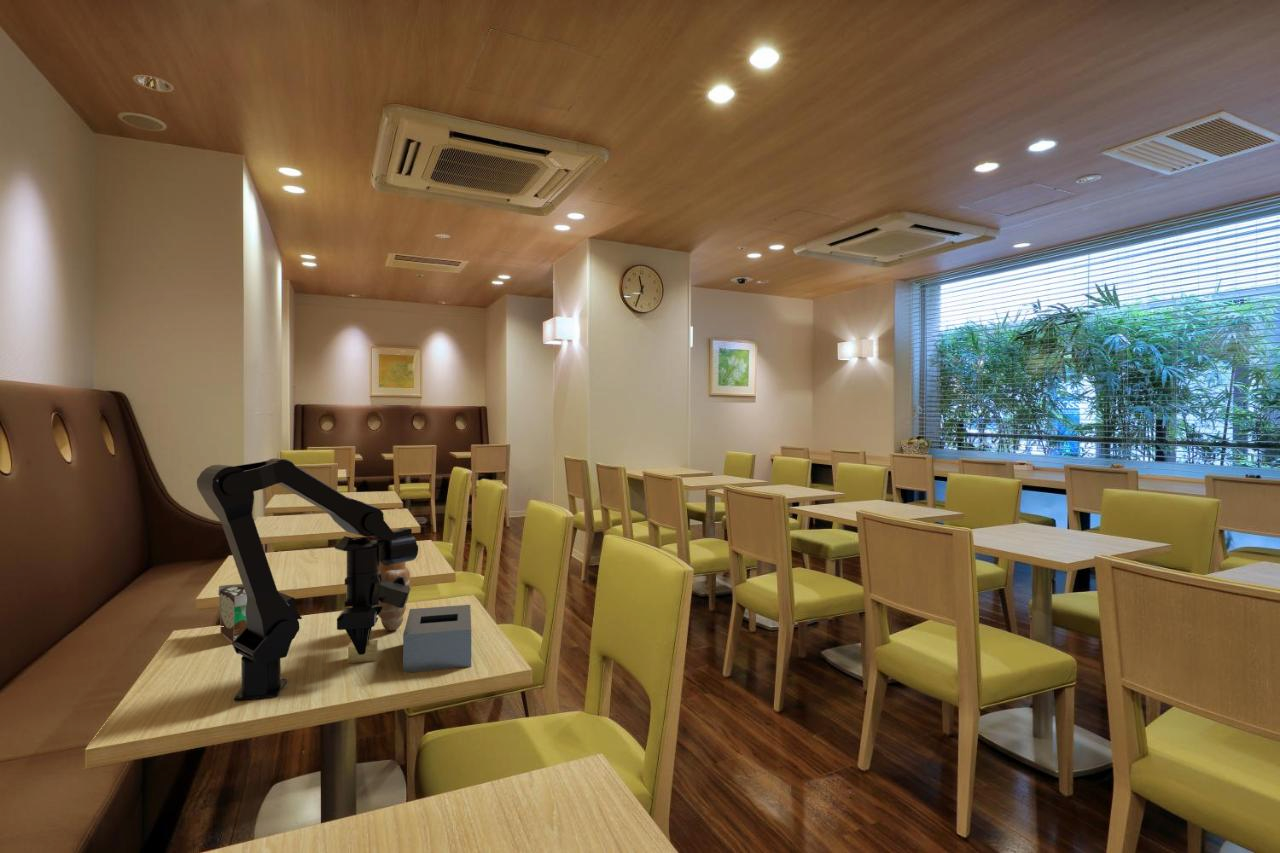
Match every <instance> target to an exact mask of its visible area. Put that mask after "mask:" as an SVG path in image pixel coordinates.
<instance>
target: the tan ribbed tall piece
mask: <svg viewBox="0 0 1280 853" xmlns="http://www.w3.org/2000/svg"><path fill="white" fill-rule="evenodd" d="M379 572H380V574H382V580H386V581H389V580H391V582H392V581H393V580H394V579H395V578H396V577H397V576H400V577H404V578H405V582H406V586H407V585H409V587H410V588H411V582H410V577H411V572H410V569H408V567H407V566H406V562H403V563H398V564H393V565H388V566H385V565H383V564H382V563H381V562H380V561H379ZM408 600H409V595H408V598H407V600H406V603H405V605H404V608H398V607H396V606H395V605H391V604H387V603H381V601H380V600H379V605H375V607H379V606H381V607H383V608H382V610H381V612H380V613H379V614H378V615H377V616H378V618H380V621H381V624H382V627H383V629H385V630H386V631H390V632H391V631H396V630H397V629H399V628H400V627H401V626H402V624H403V622H404V614H405V612H406V609H407V602H408Z"/></svg>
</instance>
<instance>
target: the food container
mask: <svg viewBox="0 0 1280 853" xmlns="http://www.w3.org/2000/svg"><path fill="white" fill-rule="evenodd" d="M218 596H219V599H218V600H219V621H220V622H219V623H220V625H219V626H224V627H220V634H221V633H222V634H223V635H224V636H225V637H224V636H223V635H222V634H221V635H222V636H223V637H224V638H226V639H227V640H228V641H229V640H230V641H231V642H230V641H229V642H230V643H232V642H233V641H234V640H235V639H236V638H237V637H238V636H239V634H240V633H241V632H242V631H243V630H244V629H245V628H246V627H247V621H246V605H247V595H246V592H245V589H244V587H243V584H242V583H234V584H225V585H219V586H218Z"/></svg>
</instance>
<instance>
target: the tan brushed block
mask: <svg viewBox="0 0 1280 853" xmlns="http://www.w3.org/2000/svg"><path fill="white" fill-rule="evenodd" d="M378 657H379V639H371V640H370V639H369V641H367V646H366V651H365V654H362V655H359V654H358V652H357V650H356V648H355V646H354V644H353V643H352V641H350V642H349V644H348V646H347V664H356V663H364V662H366V663H367V662H374V661H378Z"/></svg>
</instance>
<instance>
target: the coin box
mask: <svg viewBox="0 0 1280 853" xmlns="http://www.w3.org/2000/svg"><path fill="white" fill-rule="evenodd" d="M471 611H472V610H471V604H463V605H459V604H458V605H448V606H447V605H446V606H434V607H419V608H409V611H408V616H407V620H406V623H405V627H404V632H403V635H402V636H403V638H402V646H403V647H402V650H403V652H402V661H403V663H402V666H403V667H402V670H403V671H402V673H403V674H407V673H416V672H417V673H418V672H428V671H438V670H448V669H450V670H451V669H458V668H468V667H472V616H471V614H472V613H471Z"/></svg>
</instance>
